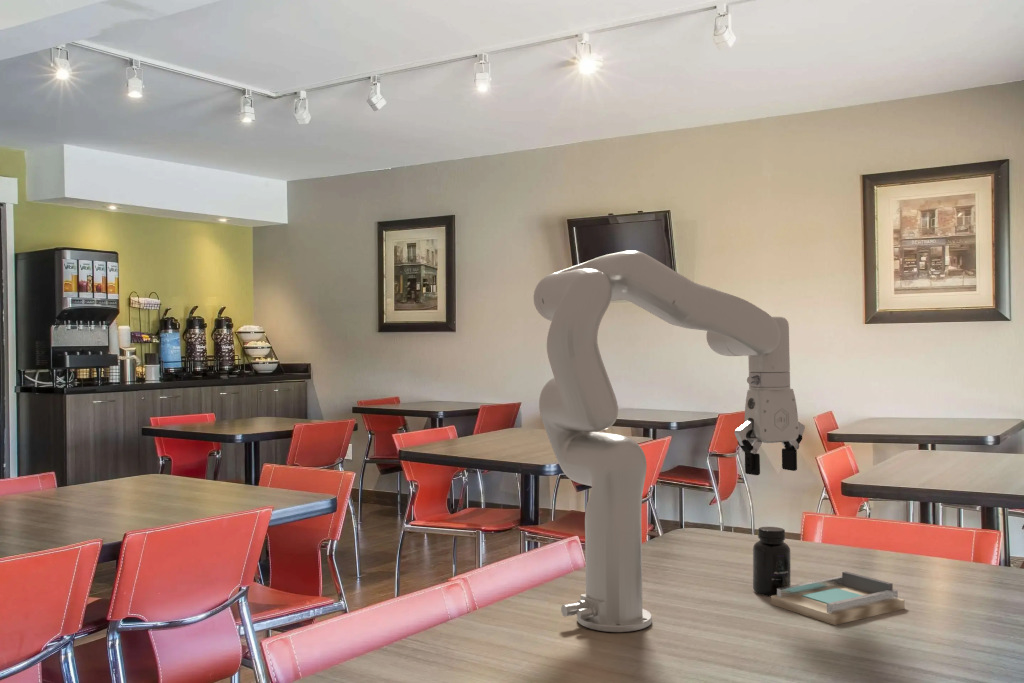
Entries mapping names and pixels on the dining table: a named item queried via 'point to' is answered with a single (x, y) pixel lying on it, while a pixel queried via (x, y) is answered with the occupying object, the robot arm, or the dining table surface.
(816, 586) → the board
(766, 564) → the supplement bottle
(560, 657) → the dining table surface
